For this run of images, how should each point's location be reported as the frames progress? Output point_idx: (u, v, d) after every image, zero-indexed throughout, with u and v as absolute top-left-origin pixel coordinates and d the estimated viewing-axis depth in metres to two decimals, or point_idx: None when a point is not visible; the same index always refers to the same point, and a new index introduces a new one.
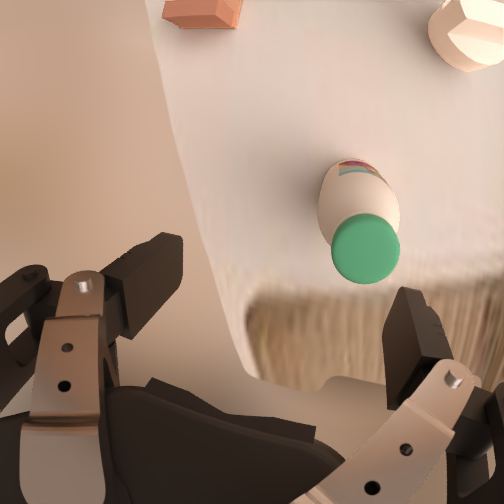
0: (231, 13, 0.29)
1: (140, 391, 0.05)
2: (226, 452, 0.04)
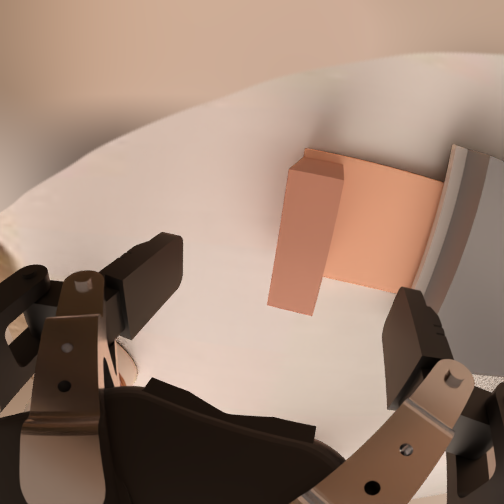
0: None
1: (140, 391, 0.05)
2: (226, 452, 0.04)
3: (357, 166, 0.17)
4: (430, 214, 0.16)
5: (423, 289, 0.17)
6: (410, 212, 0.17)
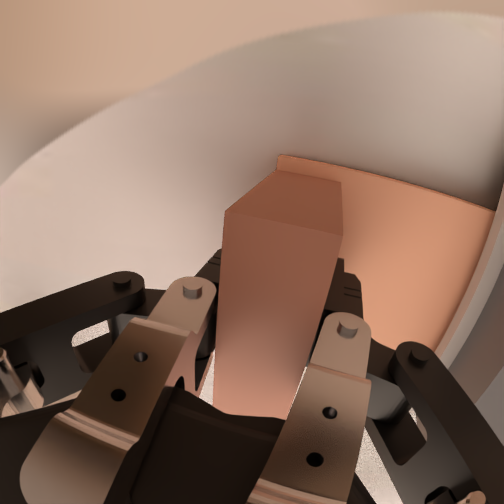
0: None
1: None
2: (226, 452, 0.04)
3: (365, 185, 0.10)
4: (470, 259, 0.10)
5: (448, 363, 0.11)
6: (442, 256, 0.10)
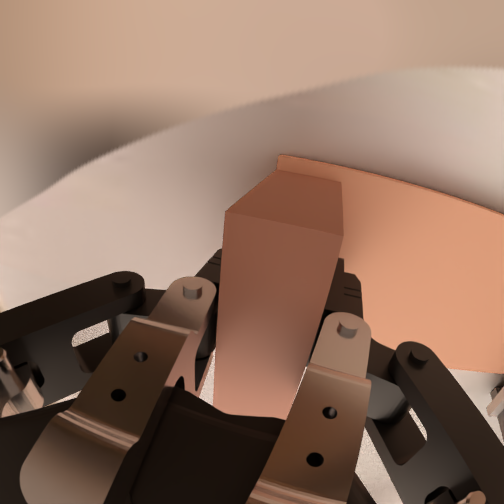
0: None
1: None
2: (226, 452, 0.04)
3: (365, 185, 0.10)
4: (470, 259, 0.10)
5: None
6: (442, 256, 0.10)
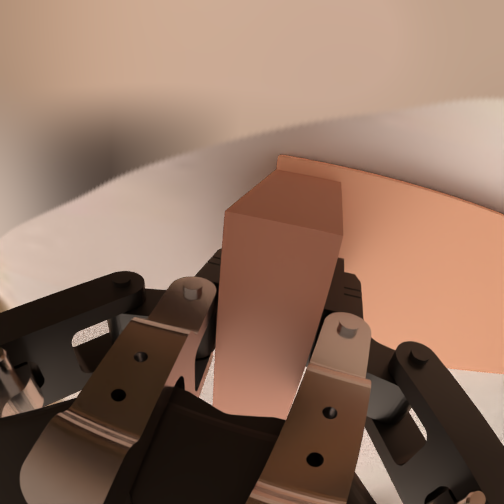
0: None
1: None
2: (226, 452, 0.04)
3: (365, 185, 0.10)
4: (470, 258, 0.10)
5: None
6: (442, 256, 0.10)
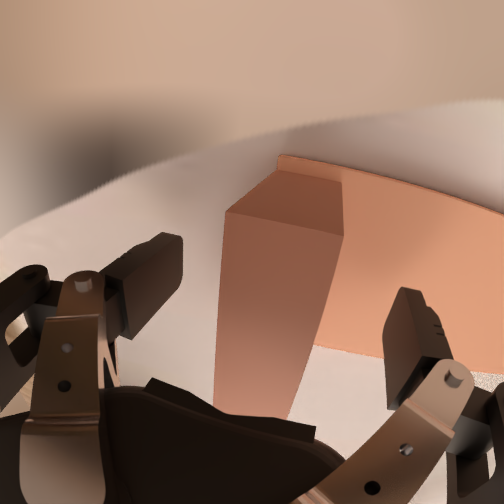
0: None
1: (140, 391, 0.05)
2: (226, 452, 0.04)
3: (365, 186, 0.10)
4: (470, 259, 0.10)
5: None
6: (442, 256, 0.10)
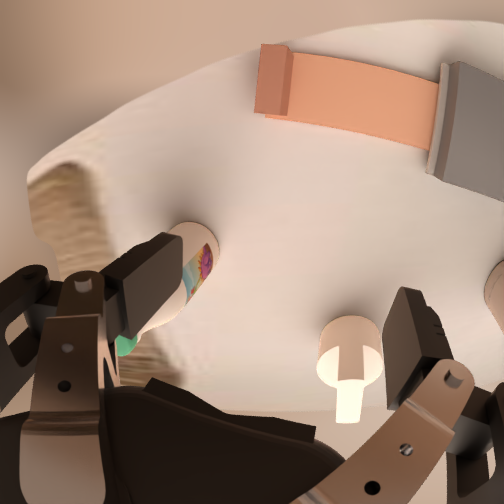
0: None
1: (140, 391, 0.05)
2: (226, 452, 0.04)
3: (302, 56, 0.28)
4: (348, 78, 0.27)
5: (438, 142, 0.27)
6: (335, 77, 0.28)
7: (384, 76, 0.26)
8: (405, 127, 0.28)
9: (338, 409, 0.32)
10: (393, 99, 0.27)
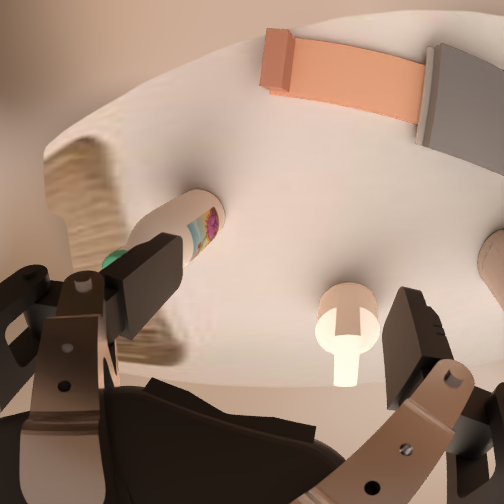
0: (282, 91, 0.33)
1: (140, 391, 0.05)
2: (226, 452, 0.04)
3: (302, 41, 0.30)
4: (343, 60, 0.30)
5: (425, 115, 0.29)
6: (332, 59, 0.30)
7: (375, 58, 0.29)
8: (394, 103, 0.31)
9: (336, 369, 0.35)
10: (383, 78, 0.30)
